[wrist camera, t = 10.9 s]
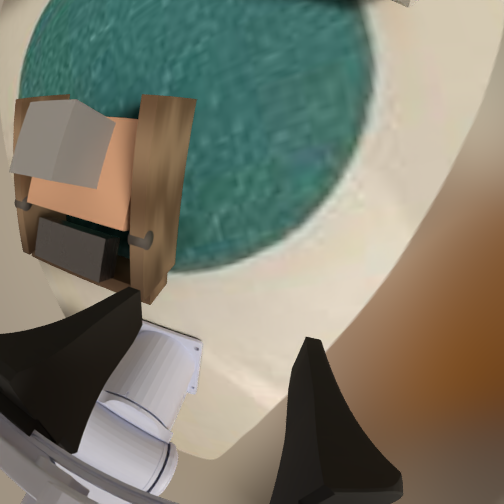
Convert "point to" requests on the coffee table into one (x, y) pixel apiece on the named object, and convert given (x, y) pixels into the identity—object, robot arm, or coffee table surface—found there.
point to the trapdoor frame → (132, 194)
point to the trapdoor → (89, 211)
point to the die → (406, 2)
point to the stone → (63, 143)
